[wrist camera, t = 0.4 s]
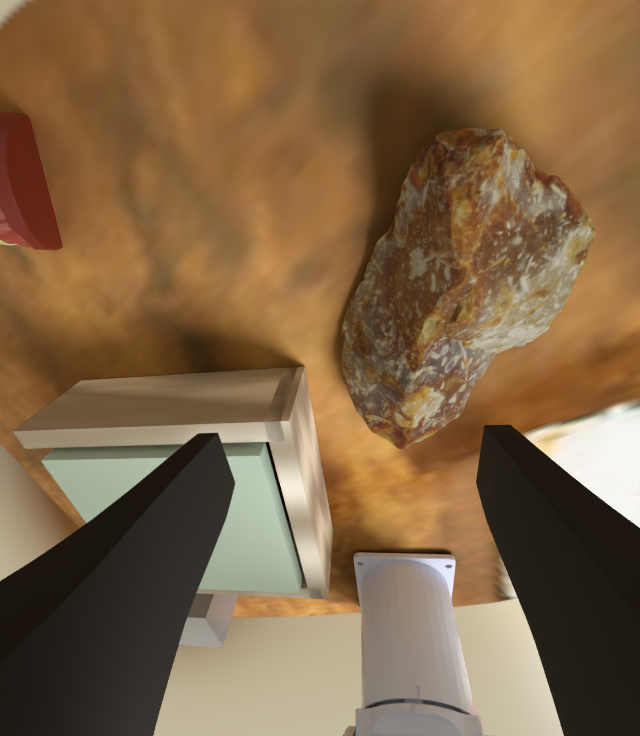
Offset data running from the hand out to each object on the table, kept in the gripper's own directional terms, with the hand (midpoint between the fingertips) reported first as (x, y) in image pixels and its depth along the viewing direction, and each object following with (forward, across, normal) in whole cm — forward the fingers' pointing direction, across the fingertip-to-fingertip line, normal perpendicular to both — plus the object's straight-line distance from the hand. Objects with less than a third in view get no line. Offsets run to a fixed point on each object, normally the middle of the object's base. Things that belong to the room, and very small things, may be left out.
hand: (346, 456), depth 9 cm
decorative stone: (+10, -4, 0) cm, 11 cm away
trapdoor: (+5, +11, +10) cm, 16 cm away
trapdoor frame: (+10, +10, +10) cm, 18 cm away
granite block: (+10, +16, +24) cm, 30 cm away
